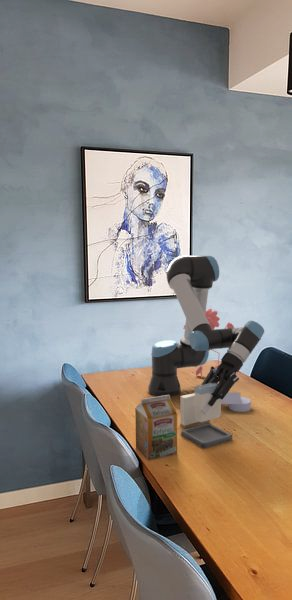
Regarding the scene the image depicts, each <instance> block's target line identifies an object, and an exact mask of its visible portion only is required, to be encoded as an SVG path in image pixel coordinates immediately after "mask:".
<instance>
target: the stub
mask: <svg viewBox="0 0 292 600" xmlns="http://www.w3.org/2000/svg"><path fill="white" fill-rule="evenodd" d="M218 383H219V382H218ZM218 383H215V382H214V383H209V384H204V385H201V384H199V385H194V393H195V420H197V421H199V422H204V421H208V420H209V421H210V420H214V419H218V418H221V415H222V413H221V412H222V411H221V408H222V407H221V406H222V404H221V399H218V400H216V402H215V403H214V405H213V406H211V408H210V409H209V410H208V412H207V413H206V415H205V414H204V413H203V412H202V411H201V410H200V409H201V408H202V406H203V405H204V403H205V402H206V400H207V399H208V397H209V396H210V395H212V394H211V393H214V391H215V389H216V387H217V385H218ZM212 396H213V395H212Z"/></svg>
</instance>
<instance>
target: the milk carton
mask: <svg viewBox="0 0 292 600" xmlns="http://www.w3.org/2000/svg"><path fill="white" fill-rule="evenodd" d="M134 412H135V448H136V449H137V450H138V452H140V454H141V455H142V456H143V457H144V458H145V459H146V460H147V461H152V460H157V459H158V460H159V459H163V458H166V457H171V456H177V455H178V413H177V409H176V408H175V406H174V403H173V402H172V399H171V396H170V395H164V396H153V397H151V396H150V397H147V398H145V397H144V398H142V399H141V400H140V403H139V404H137V405H136V407H135V411H134Z"/></svg>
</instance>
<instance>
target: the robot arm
mask: <svg viewBox="0 0 292 600" xmlns="http://www.w3.org/2000/svg"><path fill="white" fill-rule="evenodd" d="M219 277H220V266H219V263H218V261H217V259H216V258H215V257H214V256H212V255H206V254H205V255H204V254H201V255H181V256H177V257H176V258H174V259H173V260H172V261H171V262H170V264H169V265H168V267H167V270H166V281H167V284H168V286H169V288H170V289H171V290H172V291H174V294H175V296H176V299H177V301H178V303H179V305H180V307H181V310H182V313H183V315H184V317H185V324H184V325H185V329H184V334H183V335H182V336H180V340H179V342H177V341H176V340H171V339H170V340H167V339H165V340H162V341H158V342H155V343H154V344H153V345H152V348H151V377H150V379H149V380H150V381H149V384H148V393H149V394H150V395H153V396H156V397H158V396H164V395H170V397H171V396H176V395H179V394H180V393H181V389H182V388H181V384H180V383H181V382H180V380H179V378H178V369H182V368H183V369H185V368H191V367H192V368H193V367H194V368H196V367H200V365H201V366H203V365H205V364H206V363H207V362H208V359H209V356H210V355H209V354H210V351H212V350H218V349H227V350H226V352H225V353H224V354H223V356H222V358H221V359H220V364H218V365H219V366H218V365H217V366H218V367H216V368H215V366H210V369H209V370H210V371H209V372H208V373H207V375H206V377H205V378H204V380H203V381H202V383H201V384H200V385H204V384H209V383H214V382H215V383H218V385H217V387H216V389H215V391H214V393H211V394H212V395H213V396H212V395H210V396H209V397H208V399H207V400H206V402H205V403H204V405H203V406H202V408H201V409H200V410H201V411H202V412H203V413H204V414H205V415H206V413H207V412H208V410H209V409H210V408H211V406H213V405H214V403H215V402H216V400H218V399H223V398H224V397H225V396H226V394H227V393H228V392H230V390H231V389H232V387H234V385H235V383H237V382H238V381H239V380H240V377H239V376H238V375H237V373H238V372H240V370H241V369H242V367H243V366H244V363H246V361H247V360H248V359H249V356H250V355H251V354H252V352H253V351H254V349H255V348H256V346H257V345H258V343H260V341H261V340H262V337H263V336H264V334H265V329H264V328H263V326H262V325H261V324H260V323H259V322H257V321H255V320H248V321H246V323H245V324H244V325H243V327H242V326H241V327H234V328H227V327H226V329H224V328H219V329H215V328H214V330H212V328H211V326H210V324H209V322H208V320H207V318H206V316H205V313H206V311H207V305H208V304H207V303H208V296H209V290H210V289H212V288H213V284H214V282H217V281H218V279H219ZM211 349H212V350H211ZM209 350H210V351H209ZM221 394H222V395H221ZM193 407H194V408H195V404H194V405H193Z"/></svg>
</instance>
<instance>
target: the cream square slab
mask: <svg viewBox="0 0 292 600" xmlns="http://www.w3.org/2000/svg"><path fill="white" fill-rule="evenodd" d="M194 404H195V392H194V393H189V394H185V395H180V422H179V424H180V425H179V427H180V428H182V429H183V430H185V429H189V428H193V427H196V426H200V425H204V424H207V423H210V420H208V421H204V422H199V421H197V420H195V408H194V407H193V405H194Z"/></svg>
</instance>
